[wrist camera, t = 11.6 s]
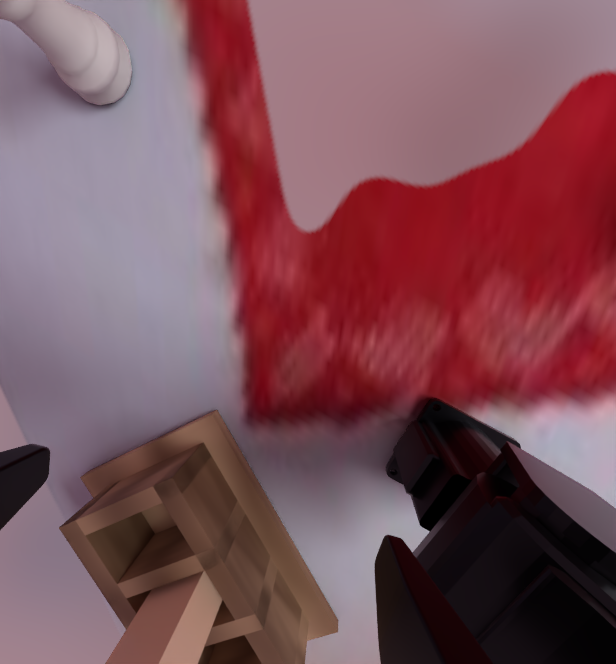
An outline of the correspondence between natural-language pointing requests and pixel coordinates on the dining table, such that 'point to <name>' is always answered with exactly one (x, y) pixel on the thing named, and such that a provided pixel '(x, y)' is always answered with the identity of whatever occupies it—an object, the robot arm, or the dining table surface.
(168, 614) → the tan rectangular block
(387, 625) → the robot arm
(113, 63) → the rook chess piece
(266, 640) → the wooden compartment tray
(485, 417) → the dining table surface
